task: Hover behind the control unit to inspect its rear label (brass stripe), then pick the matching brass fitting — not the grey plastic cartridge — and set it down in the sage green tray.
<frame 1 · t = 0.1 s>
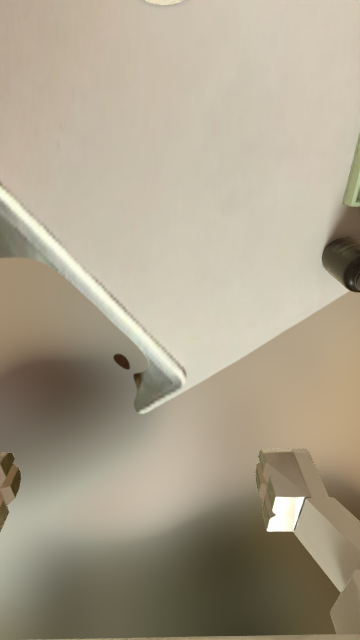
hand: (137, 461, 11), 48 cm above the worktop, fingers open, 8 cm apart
supplement bottle: (339, 255, 57), on the worktop
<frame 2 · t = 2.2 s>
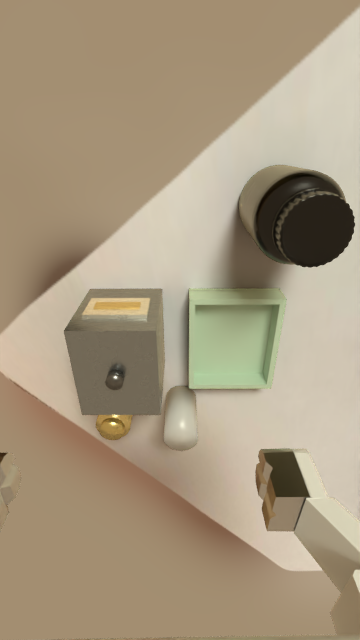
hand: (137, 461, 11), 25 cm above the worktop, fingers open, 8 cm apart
control unit: (129, 327, 38), on the worktop
supplement bottle: (271, 202, 31), on the worktop
brass fitting: (121, 391, 43), on the worktop
tray: (230, 334, 38), on the worktop
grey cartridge: (180, 397, 43), on the worktop
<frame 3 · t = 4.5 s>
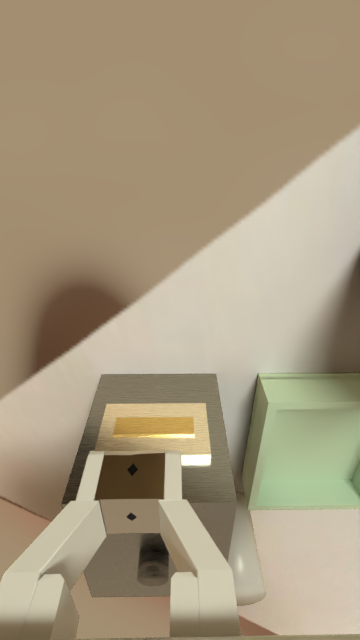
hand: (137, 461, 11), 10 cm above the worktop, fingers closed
control unit: (160, 424, 25), on the worktop
tray: (311, 431, 25), on the worktop
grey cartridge: (227, 503, 30), on the worktop
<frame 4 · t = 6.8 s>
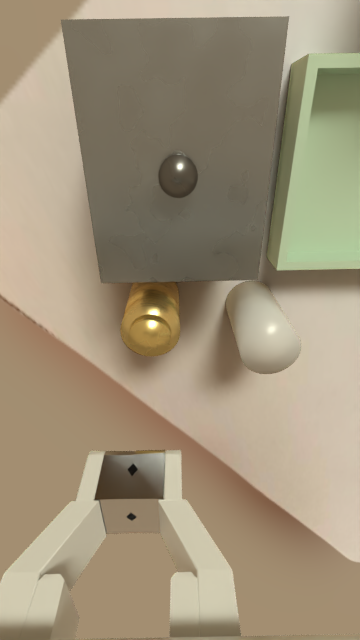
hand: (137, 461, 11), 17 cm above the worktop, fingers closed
control unit: (176, 159, 21), on the worktop
brass fitting: (154, 293, 26), on the worktop
tray: (349, 172, 22), on the worktop
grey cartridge: (249, 302, 27), on the worktop
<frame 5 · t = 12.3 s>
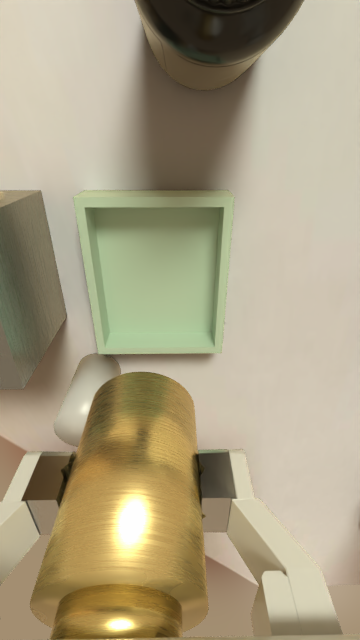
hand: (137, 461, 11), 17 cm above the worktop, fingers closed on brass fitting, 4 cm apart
control unit: (3, 259, 24), on the worktop
supplement bottle: (204, 17, 18), on the worktop
brass fitting: (143, 411, 12), point 15 cm above the worktop, touching gripper
tray: (159, 271, 25), on the worktop
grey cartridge: (99, 370, 30), on the worktop
when the fingers open (4 cm above the worktop, at t = 14.9 s): brass fitting drops 1 cm, resting on tray.
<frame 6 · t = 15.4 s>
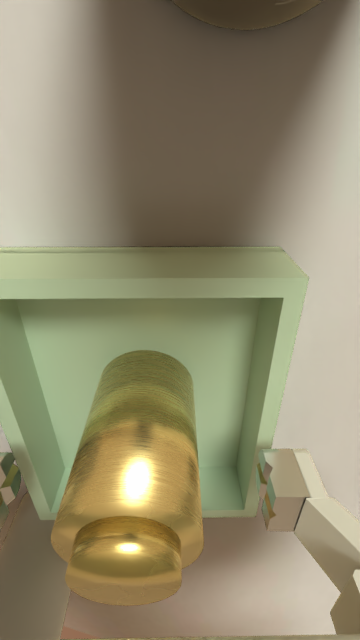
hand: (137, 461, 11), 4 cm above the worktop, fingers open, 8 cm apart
brass fitting: (146, 388, 14), point 1 cm above the worktop, touching tray
tray: (146, 379, 14), on the worktop
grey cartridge: (55, 506, 19), on the worktop
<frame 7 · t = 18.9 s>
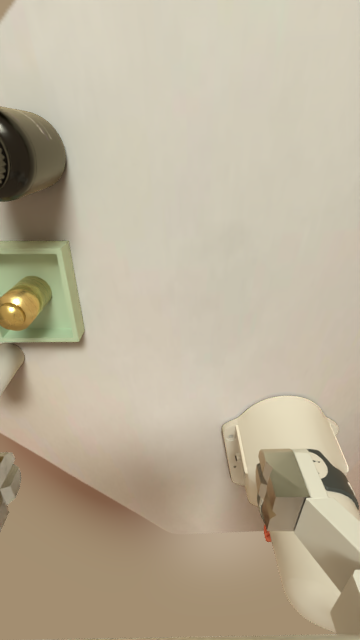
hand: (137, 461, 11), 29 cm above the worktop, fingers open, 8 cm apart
supplement bottle: (33, 151, 32), on the worktop
brass fitting: (35, 291, 38), point 1 cm above the worktop, touching tray
tray: (36, 289, 39), on the worktop
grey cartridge: (9, 354, 44), on the worktop
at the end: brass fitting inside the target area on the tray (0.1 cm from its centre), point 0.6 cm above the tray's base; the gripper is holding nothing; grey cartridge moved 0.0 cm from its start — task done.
